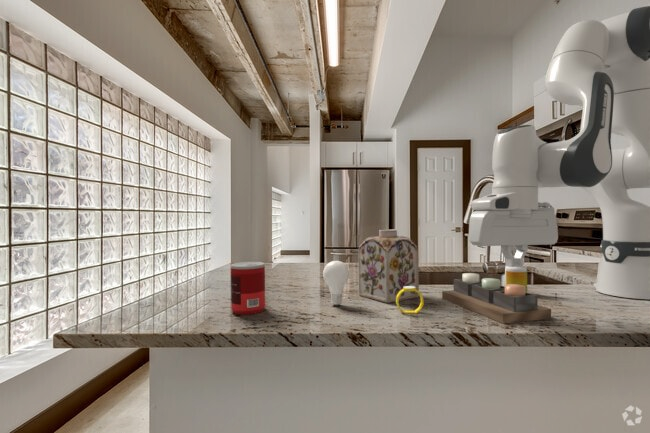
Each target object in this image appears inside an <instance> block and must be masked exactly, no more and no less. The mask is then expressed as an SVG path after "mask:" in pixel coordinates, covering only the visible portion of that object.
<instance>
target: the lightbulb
mask: <svg viewBox="0 0 650 433" xmlns="http://www.w3.org/2000/svg"><path fill="white" fill-rule="evenodd" d="M322 276H323V280H324V281H325V283H326V285H327V286H328V291H329V293H330V303H331V304H332V305H334V306H335V307H337V306H339V305H341V304H343V301H342V300H343V299H342V297H343V291H344V288H345V285H346V284H347V283H348V280H349V278H350V270H349V267H348V266H347V265H346V263H345V262H343V261H340V260H332V261H329V262H328V263H326V264H325V266H324V268H323V271H322Z"/></svg>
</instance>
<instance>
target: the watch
mask: <svg viewBox="0 0 650 433" xmlns="http://www.w3.org/2000/svg"><path fill="white" fill-rule="evenodd" d="M405 291H416V292H417V293H418V294H419V295H418V296H419V297H420V303H419V306H418V307H416V309H414V310H403V309H402V308H401V306H400V304H399V303H400V301H399V297H400V296H401V294H402V293H403V292H405ZM424 303H425V301H424V296H423V294H422V293H421V292H420V290H419V291H418V290H416V287H414V286H404V287H403V289H402V290H400V291H399V293H398V294H397V297H396V302H395V304H396V306H397V308H398V310H399V311H400V312H402V313H403V314H408V315H409V314H418V313H420V311H422V309H423V308H424Z"/></svg>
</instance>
